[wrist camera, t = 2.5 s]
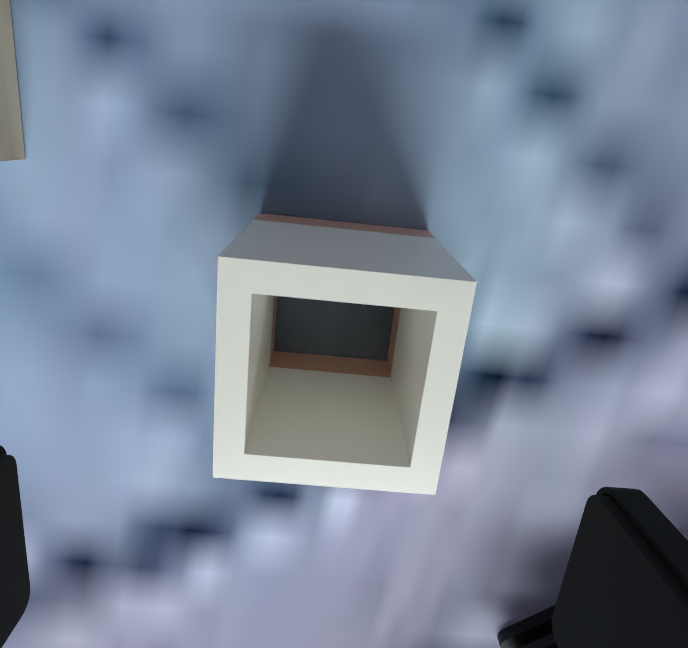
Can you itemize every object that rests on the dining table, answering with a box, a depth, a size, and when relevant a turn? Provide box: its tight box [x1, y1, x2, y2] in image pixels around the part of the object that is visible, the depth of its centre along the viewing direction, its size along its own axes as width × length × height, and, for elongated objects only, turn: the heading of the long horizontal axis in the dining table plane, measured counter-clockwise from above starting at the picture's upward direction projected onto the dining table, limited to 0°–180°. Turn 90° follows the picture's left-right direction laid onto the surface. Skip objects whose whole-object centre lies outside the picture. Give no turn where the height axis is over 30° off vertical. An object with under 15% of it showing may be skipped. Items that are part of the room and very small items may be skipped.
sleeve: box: [213, 213, 477, 495], centre depth 16 cm, size 6×6×7 cm
